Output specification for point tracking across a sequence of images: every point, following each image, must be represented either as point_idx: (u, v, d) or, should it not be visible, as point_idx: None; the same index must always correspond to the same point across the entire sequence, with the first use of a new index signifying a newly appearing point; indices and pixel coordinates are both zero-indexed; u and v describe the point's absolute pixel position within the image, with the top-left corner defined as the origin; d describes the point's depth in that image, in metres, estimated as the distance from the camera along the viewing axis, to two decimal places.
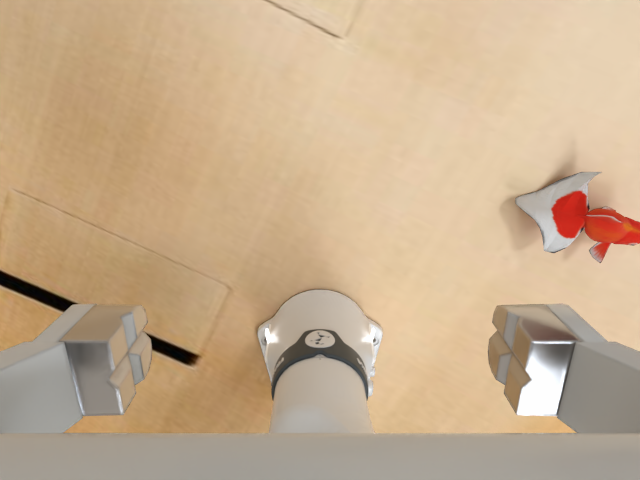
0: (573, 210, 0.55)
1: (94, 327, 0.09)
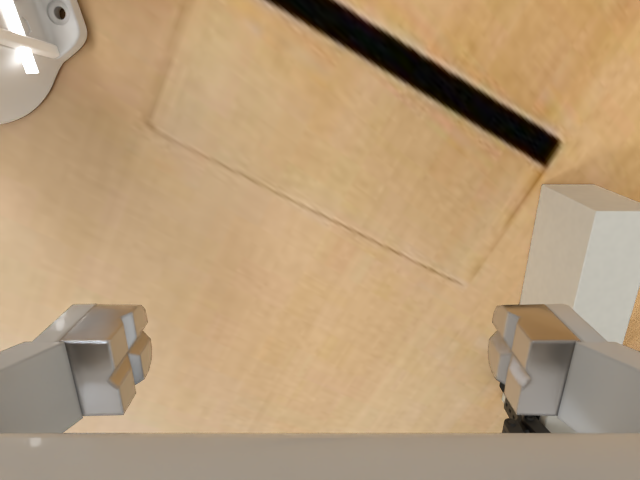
0: None
1: (94, 327, 0.09)
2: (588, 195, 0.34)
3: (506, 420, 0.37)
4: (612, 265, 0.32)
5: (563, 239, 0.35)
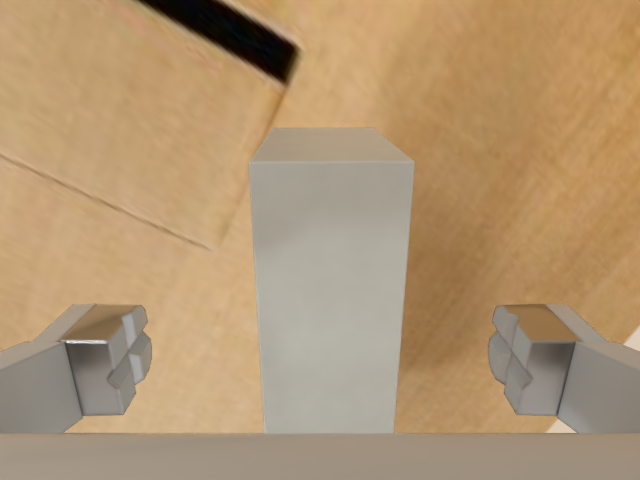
0: None
1: (94, 327, 0.09)
2: (315, 139, 0.16)
3: None
4: (325, 295, 0.13)
5: None
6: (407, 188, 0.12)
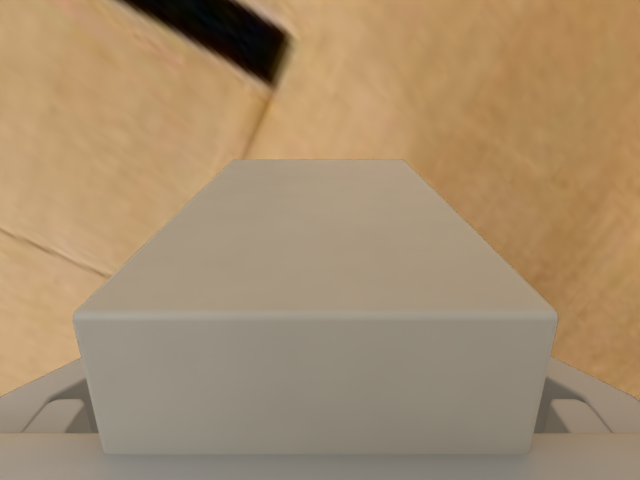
0: None
1: None
2: (295, 196, 0.08)
3: None
4: None
5: None
6: (529, 384, 0.04)
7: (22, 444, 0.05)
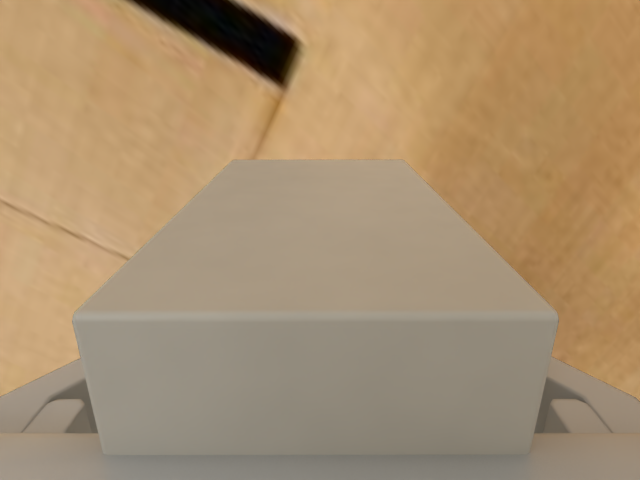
0: None
1: None
2: (295, 196, 0.08)
3: None
4: None
5: None
6: (530, 384, 0.04)
7: (22, 444, 0.05)
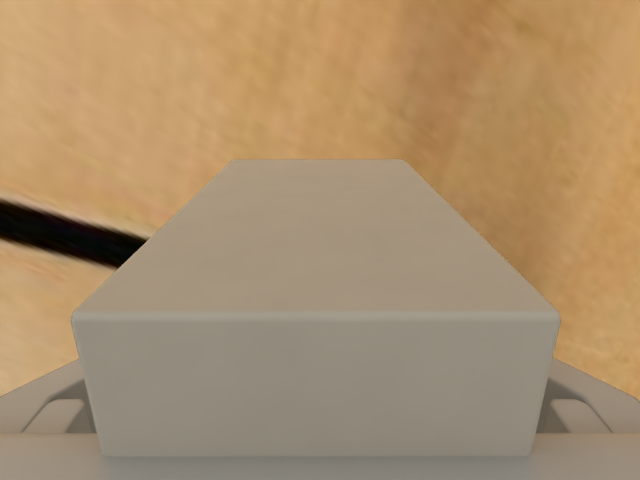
0: None
1: None
2: (295, 196, 0.08)
3: None
4: None
5: None
6: (532, 384, 0.04)
7: (22, 444, 0.05)
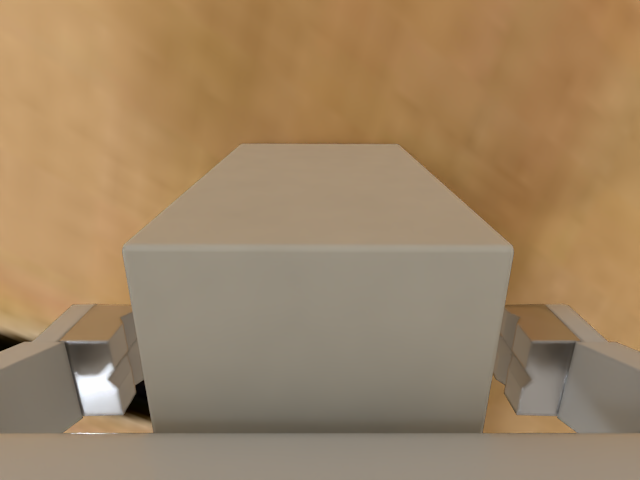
0: None
1: (94, 327, 0.09)
2: (299, 170, 0.09)
3: None
4: None
5: None
6: (492, 307, 0.05)
7: (22, 444, 0.05)
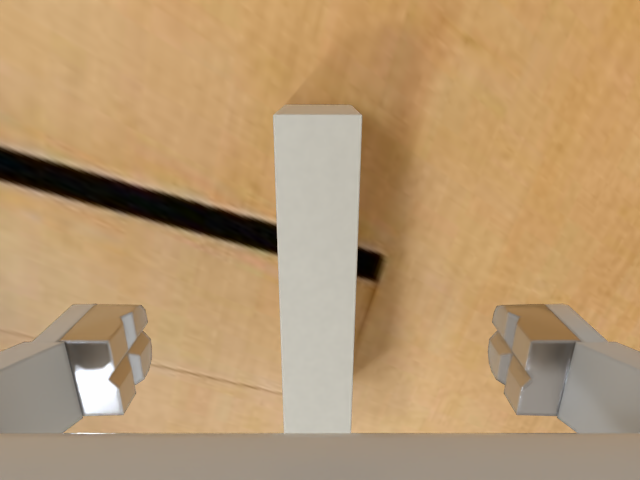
0: None
1: (94, 327, 0.09)
2: (311, 108, 0.26)
3: None
4: (314, 192, 0.24)
5: None
6: (358, 130, 0.23)
7: (22, 444, 0.05)
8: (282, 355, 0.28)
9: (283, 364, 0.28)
